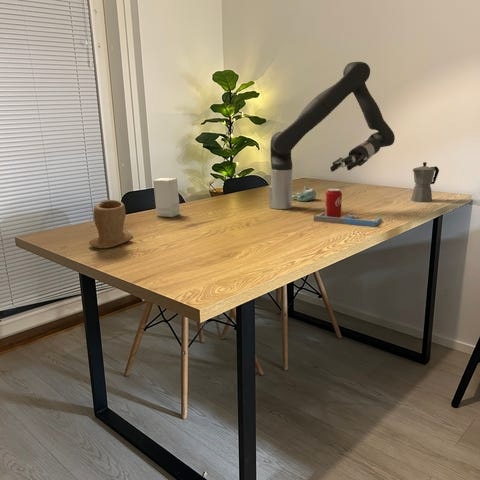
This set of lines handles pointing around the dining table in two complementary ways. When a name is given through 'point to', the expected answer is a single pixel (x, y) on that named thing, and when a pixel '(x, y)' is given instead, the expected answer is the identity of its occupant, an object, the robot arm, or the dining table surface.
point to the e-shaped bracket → (346, 220)
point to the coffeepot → (424, 183)
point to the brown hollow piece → (110, 224)
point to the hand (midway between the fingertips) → (339, 168)
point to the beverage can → (333, 203)
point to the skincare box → (166, 197)
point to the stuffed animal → (305, 195)
